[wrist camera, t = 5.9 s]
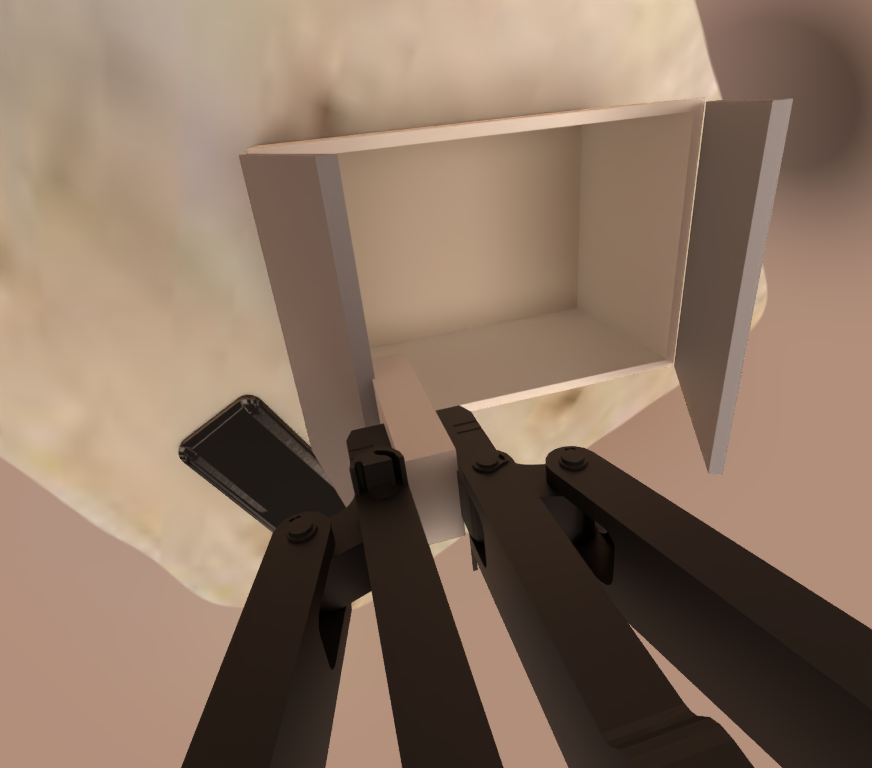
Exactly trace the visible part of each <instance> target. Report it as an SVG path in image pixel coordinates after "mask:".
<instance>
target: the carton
mask: <svg viewBox="0 0 872 768" xmlns="http://www.w3.org/2000/svg"><path fill="white" fill-rule="evenodd" d="M704 103H705V98H695V99H685V100H674V101H664V102H653V103H642V104H632V105H621V106H610V107H600V108H589V109H580V110H571V111H562V112H553V113H544V114H535V115H526V116H517V117H508V118H499V119H490V120H481V121H472V122H463V123H455V124H446V125H437V126H428V127H419V128H410V129H401V130H392V131H383V132H374V133H365V134H356V135H347V136H338V137H329V138H320V139H311V140H302V141H293V142H284V143H275V144H266V145H257V146H254V147H251V148H248V149H246V153H247V154H337V156H338V162H339V168H340V174H341V180H342V186H343V192H344V198H345V204H346V210H347V216H348V222H349V228H350V233H351V239H352V245H353V251H354V257H355V263H356V269H357V275H358V281H359V287H360V293H361V299H362V305H363V311H364V316H365V322H366V328H367V334H368V340H369V346H370V352H371V358H377V357H382V356H387V355H392V354H397V353H402V352H404V353H405V355H406V357H407V359H408V361H409V362H410V364H411V366H412V368H413V370H414V372H415V374H416V376H417V377H418V379H419V381H420V383H421V385H422V387H423V389H424V391H425V392H426V394H427V396H428V398H429V400H430V402H431V404H432V406H433V407H434V409H435V411H436V410H440V409H445V408H449V407H454V406H458V405H460V406H462V407H464V408H465V409H467V410H469V411H475V410H479V409H483V408H488V407H492V406H497V405H501V404H506V403H510V402H515V401H519V400H524V399H528V398H532V397H537V396H541V395H546V394H550V393H555V392H559V391H564V390H568V389H572V388H577V387H581V386H586V385H590V384H595V383H599V382H604V381H608V380H613V379H617V378H621V377H626V376H630V375H635V374H639V373H644V372H648V371H653V370H657V369H661V368H666V367H670V366H673V360H674V352H675V344H676V335H677V327H678V319H679V310H680V302H681V294H682V286H683V277H684V269H685V261H686V252H687V244H688V236H689V228H690V219H691V211H692V203H693V194H694V186H695V178H696V169H697V161H698V153H699V145H700V136H701V128H702V120H703V111H704Z"/></svg>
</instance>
